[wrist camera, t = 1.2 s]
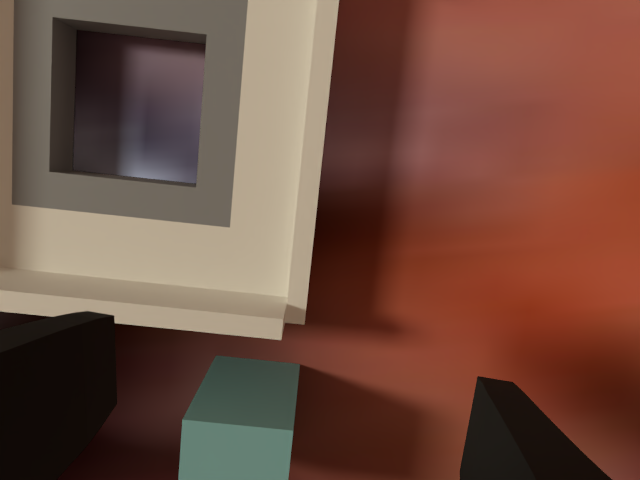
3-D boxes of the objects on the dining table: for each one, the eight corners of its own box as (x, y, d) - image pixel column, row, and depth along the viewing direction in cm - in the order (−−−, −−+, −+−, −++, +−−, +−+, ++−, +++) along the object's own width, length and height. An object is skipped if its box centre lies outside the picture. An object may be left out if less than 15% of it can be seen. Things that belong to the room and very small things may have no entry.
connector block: (291, 441, 25) (282, 529, 19) (210, 432, 25) (175, 519, 19) (300, 363, 24) (293, 430, 18) (216, 355, 24) (182, 419, 18)
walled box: (306, 303, 24) (302, 342, 19) (-40, 268, 23) (-136, 297, 19) (345, -67, 21) (353, -135, 16) (-42, -112, 21) (-154, -195, 16)
